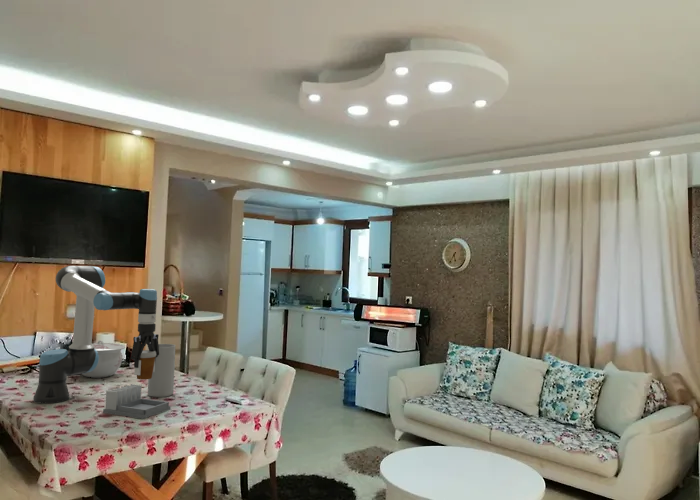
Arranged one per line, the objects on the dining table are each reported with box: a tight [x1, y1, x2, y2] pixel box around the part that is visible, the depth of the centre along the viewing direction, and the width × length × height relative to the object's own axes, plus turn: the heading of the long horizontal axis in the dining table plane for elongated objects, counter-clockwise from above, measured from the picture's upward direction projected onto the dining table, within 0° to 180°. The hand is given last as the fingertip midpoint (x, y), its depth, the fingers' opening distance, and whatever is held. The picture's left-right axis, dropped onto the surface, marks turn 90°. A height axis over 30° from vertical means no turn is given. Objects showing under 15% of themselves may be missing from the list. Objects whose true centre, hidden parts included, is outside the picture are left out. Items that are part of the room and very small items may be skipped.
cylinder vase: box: [147, 343, 176, 398], centre depth 278 cm, size 12×12×25 cm
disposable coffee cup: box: [136, 349, 157, 381], centre depth 245 cm, size 10×10×12 cm
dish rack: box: [102, 383, 171, 420], centre depth 246 cm, size 22×18×10 cm
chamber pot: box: [82, 340, 126, 379], centre depth 320 cm, size 28×28×21 cm
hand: (144, 373), depth 245 cm, fingers closed on disposable coffee cup, 8 cm apart
